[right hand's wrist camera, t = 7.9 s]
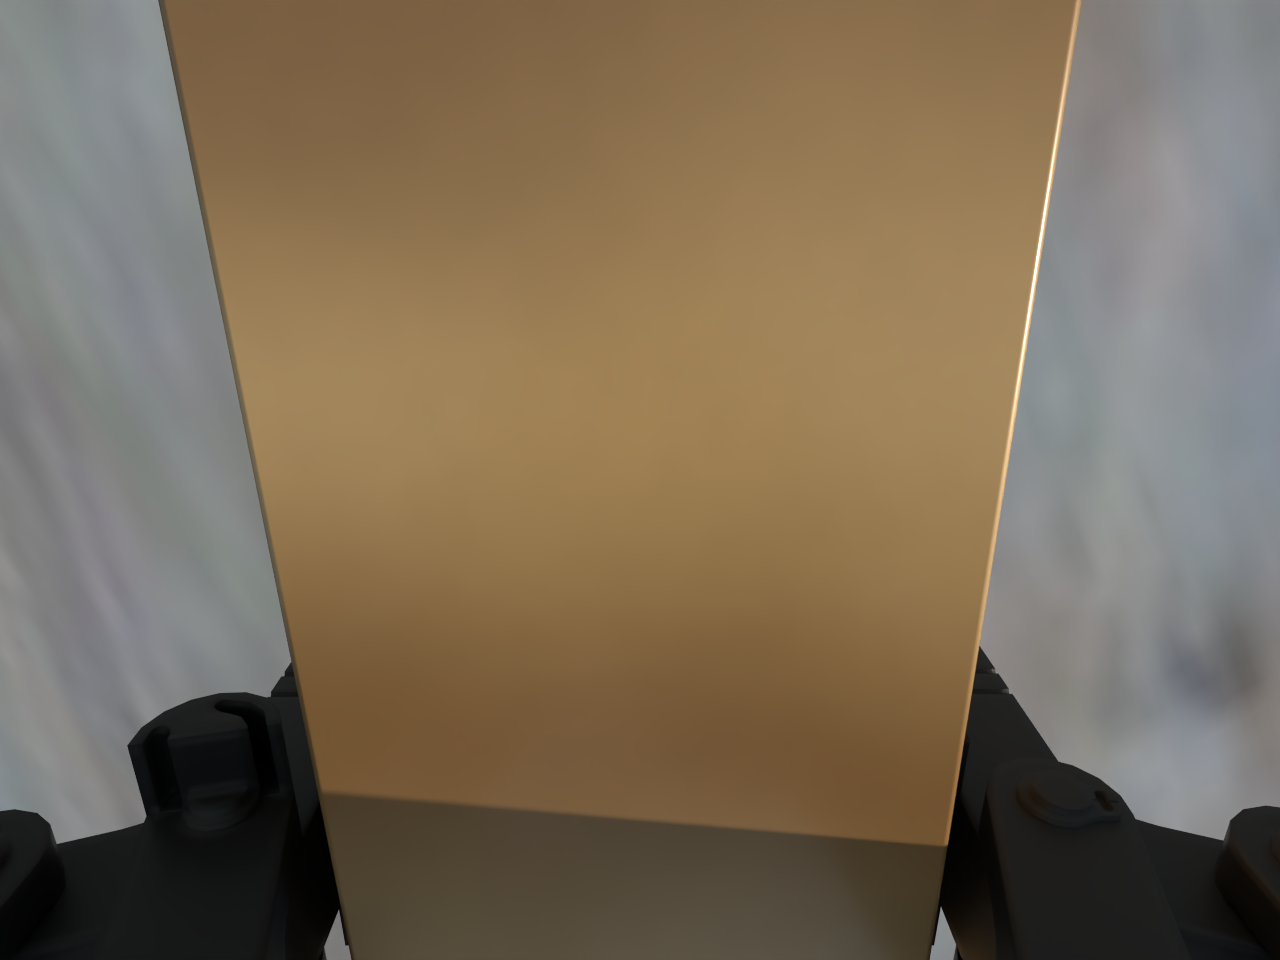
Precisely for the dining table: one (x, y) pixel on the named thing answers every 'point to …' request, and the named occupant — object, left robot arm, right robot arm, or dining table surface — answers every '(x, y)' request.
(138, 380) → the dining table surface
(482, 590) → the post
